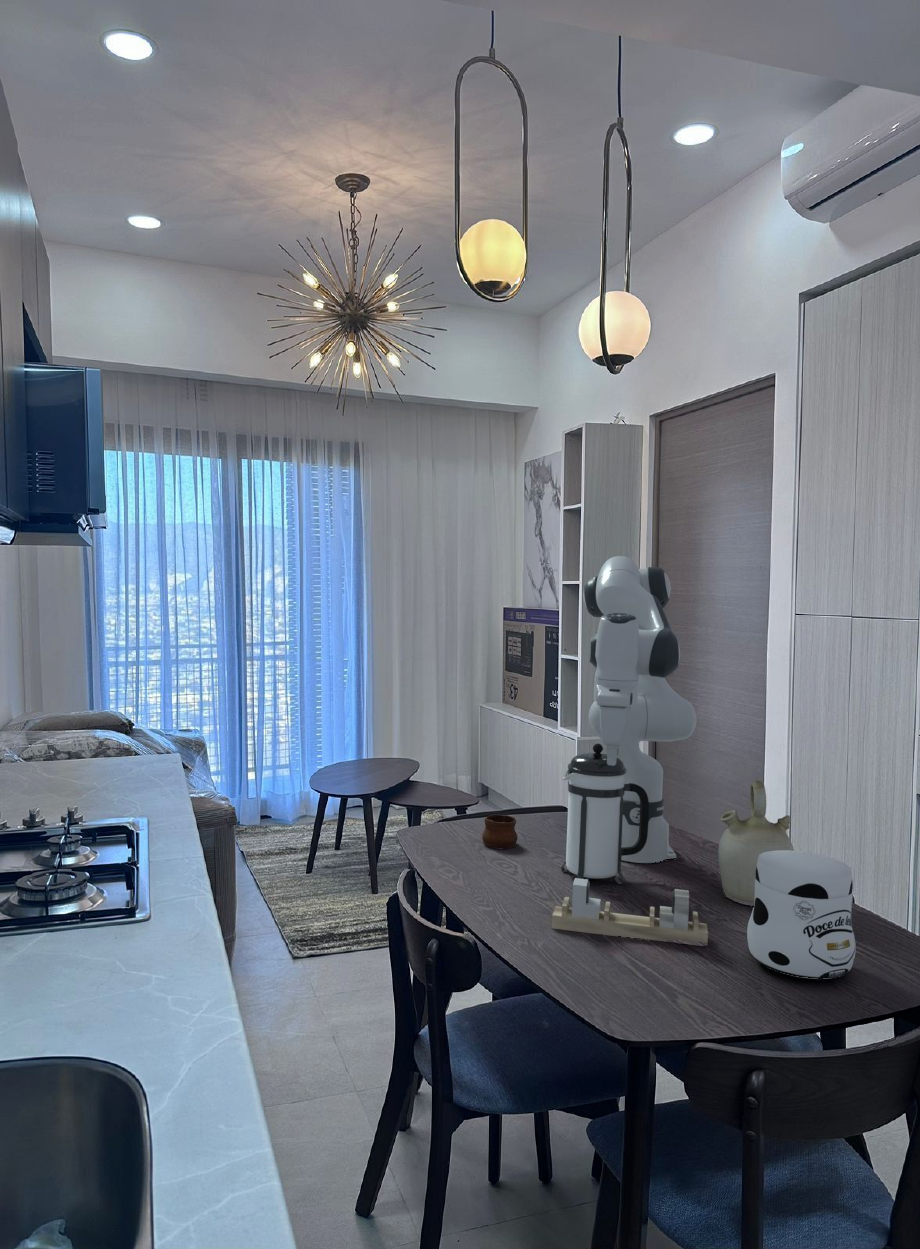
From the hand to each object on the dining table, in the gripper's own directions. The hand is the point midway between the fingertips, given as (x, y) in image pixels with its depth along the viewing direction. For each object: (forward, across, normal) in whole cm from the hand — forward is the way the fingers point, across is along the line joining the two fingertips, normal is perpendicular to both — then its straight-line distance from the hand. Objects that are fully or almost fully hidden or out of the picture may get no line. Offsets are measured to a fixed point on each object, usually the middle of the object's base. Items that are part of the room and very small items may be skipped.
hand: (612, 760), depth 177 cm
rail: (+29, +16, +5) cm, 33 cm away
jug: (+29, -12, +30) cm, 44 cm away
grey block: (+26, +16, -3) cm, 31 cm away
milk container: (+29, +22, +34) cm, 50 cm away
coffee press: (+29, -15, -3) cm, 33 cm away
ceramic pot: (+30, -33, -28) cm, 52 cm away
